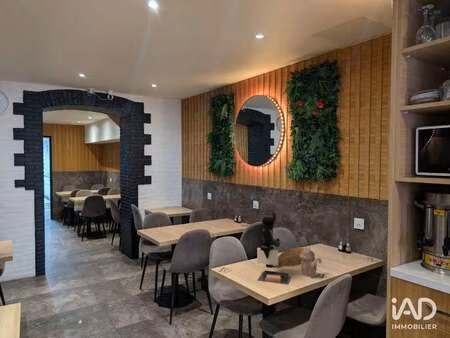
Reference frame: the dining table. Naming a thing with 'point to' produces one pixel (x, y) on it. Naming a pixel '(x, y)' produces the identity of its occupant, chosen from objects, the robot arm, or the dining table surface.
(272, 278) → the offcut upper
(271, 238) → the robot arm
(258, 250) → the beige rectangular panel
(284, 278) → the rack
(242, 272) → the dining table surface
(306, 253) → the toy
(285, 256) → the bread
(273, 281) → the offcut lower
